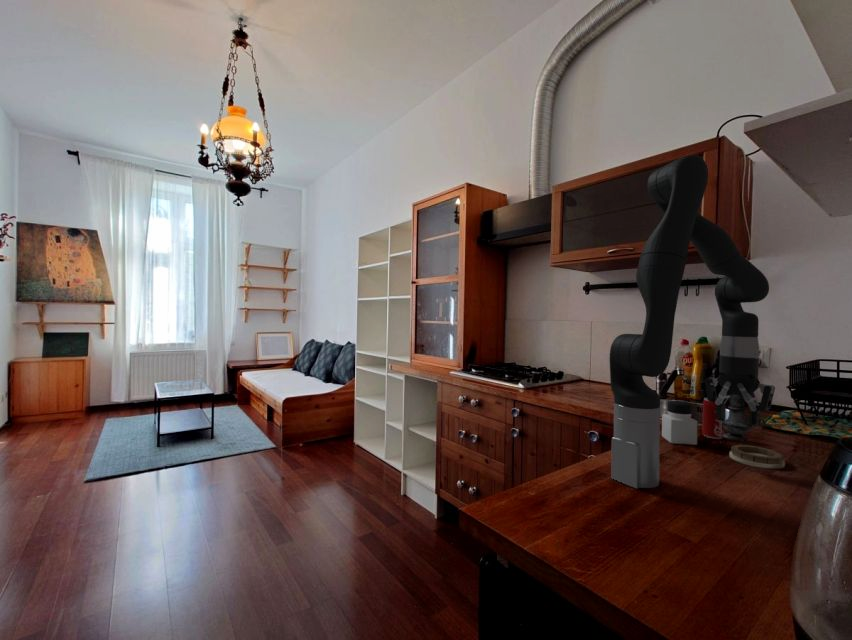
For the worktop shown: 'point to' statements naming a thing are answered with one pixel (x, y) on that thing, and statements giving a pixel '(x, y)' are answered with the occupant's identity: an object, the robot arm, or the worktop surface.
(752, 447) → the seat
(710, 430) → the soda can
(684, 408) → the medicine bottle
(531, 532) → the worktop surface
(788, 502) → the worktop surface
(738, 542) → the worktop surface
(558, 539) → the worktop surface
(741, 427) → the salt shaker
